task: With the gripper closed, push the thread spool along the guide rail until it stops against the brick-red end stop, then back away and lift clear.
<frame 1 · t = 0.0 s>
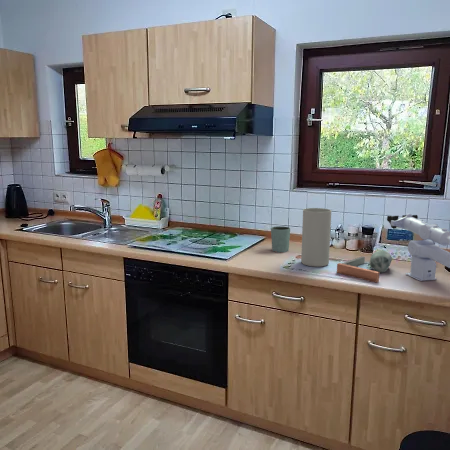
hand: (395, 217, 189), 22 cm above the countertop, fingers open, 7 cm apart
spool guide: (370, 273, 179), on the countertop
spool: (379, 270, 185), on the countertop
cylinder vase: (314, 263, 194), on the countertop
green cup: (280, 250, 218), on the countertop
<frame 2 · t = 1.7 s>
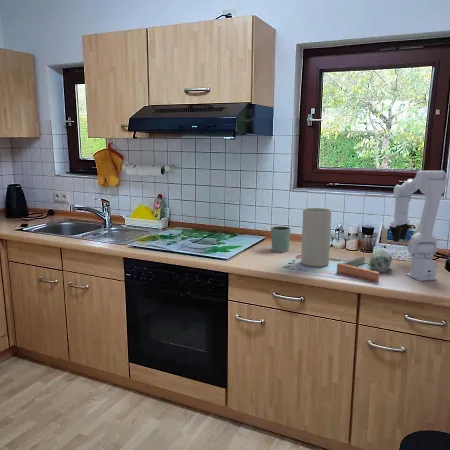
hand: (398, 240, 194), 10 cm above the countertop, fingers open, 6 cm apart
nothing on the countertop moved.
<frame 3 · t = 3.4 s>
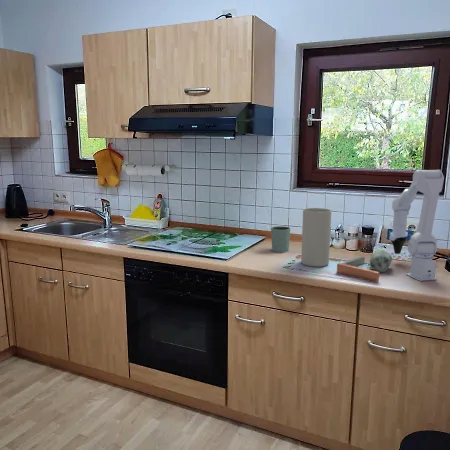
hand: (397, 253, 195), 4 cm above the countertop, fingers closed
nothing on the countertop moved.
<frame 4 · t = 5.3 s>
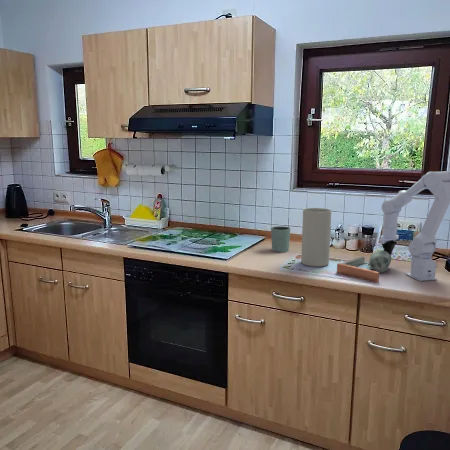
hand: (387, 256, 188), 4 cm above the countertop, fingers closed
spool: (379, 269, 184), on the countertop, touching gripper
everything else where it was.
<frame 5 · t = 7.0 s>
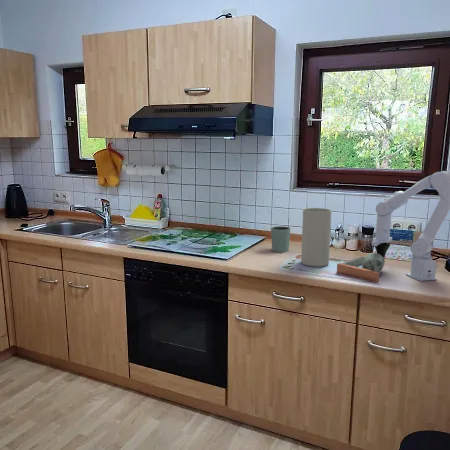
hand: (380, 259, 184), 4 cm above the countertop, fingers closed
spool: (372, 273, 180), on the countertop, touching gripper
everything else where it was.
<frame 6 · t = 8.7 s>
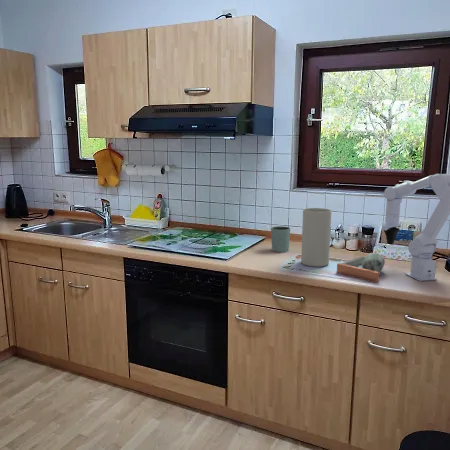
hand: (390, 243, 187), 10 cm above the countertop, fingers closed
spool: (372, 273, 180), on the countertop
everything else where it was.
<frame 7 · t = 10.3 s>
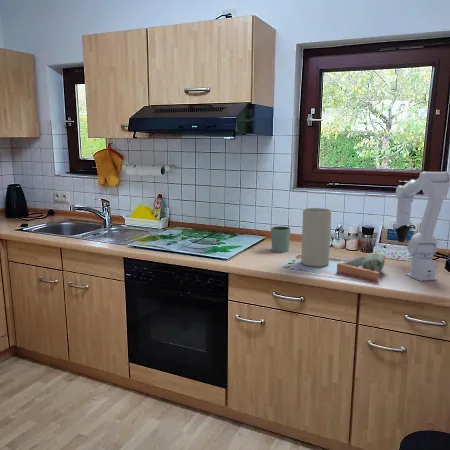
hand: (401, 241, 191), 10 cm above the countertop, fingers closed
nothing on the countertop moved.
at the end: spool 1.2 cm from the target spot, on the countertop; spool moved 7.0 cm from its start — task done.
